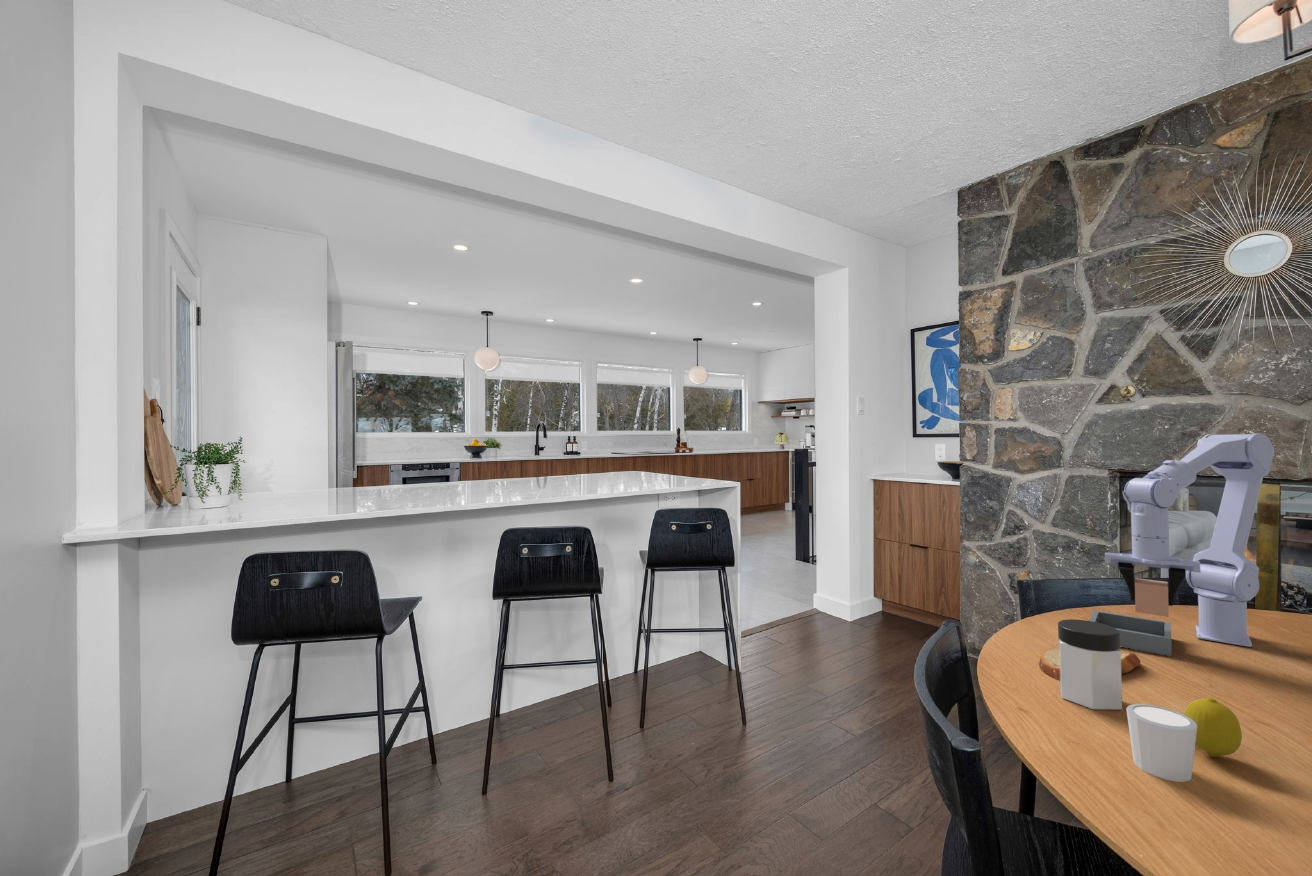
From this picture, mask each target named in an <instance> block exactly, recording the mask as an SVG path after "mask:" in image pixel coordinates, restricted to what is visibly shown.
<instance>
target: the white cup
mask: <svg viewBox="0 0 1312 876" xmlns="http://www.w3.org/2000/svg"><path fill="white" fill-rule="evenodd" d="M1125 710H1126V717H1127V723H1128V730H1129V738H1130V743H1131V744H1130V746H1131V752H1132V759H1133V763H1134V764H1135V766H1136V767H1137V768H1139V769H1140V770H1141V771H1143V772H1145V773H1147V774H1149V775H1151V776H1154V777H1157V778H1159V779H1162V780H1166V781H1172V782H1179V783H1185V782H1188V781H1189V782H1190V781H1191V780H1192V778H1193V769H1194V757H1195V751H1196V750H1195V748H1196V745H1195V742H1196V732H1197V724H1196V723H1195V722H1194V720H1192V719H1191V718H1189V717H1187V716H1186V715H1184V714H1185V713H1184V714H1183V713H1181V712H1178V711H1175V710H1173V709H1169V708H1167V707H1162V706H1158V705H1152V704H1145V703H1133V704H1130V705H1128V706H1127V707H1126V709H1125Z"/></svg>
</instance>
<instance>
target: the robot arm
mask: <svg viewBox="0 0 1312 876" xmlns="http://www.w3.org/2000/svg"><path fill="white" fill-rule="evenodd" d="M1274 454H1275V448H1274V446H1273V444H1272V442H1271V440H1270V438H1268V436H1267V435H1266V434H1264V433H1260V432H1259V433H1253V434H1252V433H1248V434H1247V433H1245V434H1242V433H1240V434H1235V433H1234V434H1215V433H1207V434H1206V435H1204V436H1203V437H1201V438H1199V439H1198V440H1197V443H1196V447H1194V449H1193V450H1191V451H1190V452H1189V453H1188V454H1187V455H1185V456H1184V457H1183V458H1181V459H1180V460H1179V459H1173V460H1171V459H1170V460H1169V459H1166V460H1164V461H1163V462H1162V465H1160V466H1159V467H1157V468H1155V469H1154V470H1152V471H1149V472H1148V473H1147V474H1146V475H1144V476H1143V477H1134V478H1132V479H1130V480H1128V481H1127V482H1126V484H1125V485H1124V488H1123V489H1124V490H1122V495H1123V496H1122V497H1123V500H1124V501H1125V502H1126V505H1127V510H1128V513H1130V514H1131V515H1130V516H1131V517H1130V520H1131V521H1130V522H1131V524H1130V525H1131V526H1130V527H1131V553H1122V552H1121V553H1118V552H1105V553H1104V563H1105V564H1106V563H1107V564H1117V569H1118V571H1119V573H1120V574H1121V575H1122V578H1123V579H1124V581H1125V584H1126V586H1127V588H1128V591H1129V595H1130V600H1131V601H1134V602H1135V566H1139V567H1148V568H1157V569H1158V568H1159V569H1166V570H1168V573H1167V574H1168V607H1169V606H1171V607H1173V606H1174V600H1175V596H1176V593H1177V591H1178V589H1179V586H1180V585H1181V583H1182V582H1183V581H1184V578H1185V579H1186V582H1187V584H1188V586H1189V587H1190V588H1192V589H1193V593H1195V594H1197V602H1198V604H1197V605H1198V606H1197V607H1198V611H1197V612H1198V625H1195V634H1196V638H1197V639H1200V640H1206V641H1213V642H1218V643H1224V644H1225V643H1226V644H1230V645H1234V646H1235V645H1237V646H1242V647H1247V648H1252V647H1253V644H1252V641H1251V638H1250V636H1249V633H1248V608H1247V607H1248V606H1247V602H1248V601H1249V602H1250V601H1251V600H1252V599H1253V598H1254V597H1256V596H1257V594H1258V592H1259V590H1260V580H1259V572H1260V568H1259V566H1257V564H1256V563H1254V562H1253V561H1252V560H1250V558H1248V557H1247V556H1246V555H1245V554H1246V549H1247V545H1248V541H1249V537H1250V534H1251V533H1250V532H1251V529H1252V524H1253V520H1254V516H1255V511H1256V508H1257V504H1258V500H1259V495H1260V492H1261V487H1262V484H1263V479H1264V477H1267V476H1268V475H1269V474H1270V469H1271V466H1272V462H1273V459H1274ZM1209 467H1210V468H1211V469H1212V470H1213V471H1214V473H1216V474H1218V475H1220V476H1223V477H1224V479H1225V485H1224V489H1223V494H1222V497H1221V502H1220V504H1219V505H1220V506H1219V509H1218V513H1217V518H1216V521H1215V525H1214V529H1213V533H1212V537H1211V541H1210V546H1209V547H1208V548H1207V549H1203V550H1201V551H1199V552H1197V553H1195V554H1194V555H1193V558H1192V560H1191V559H1189V560H1188V559H1182V558H1181V559H1180V558H1175V557H1170V538H1169V537H1170V534H1169V533H1170V532H1169V531H1170V530H1169V528H1170V527H1169V525H1170V524H1169V507H1171V506H1173V505H1174V504H1175V502H1176V499H1177V496H1178V495H1179V493H1180V492H1181V491H1182V490H1184V489H1186V488H1187V487H1188V486H1190V485H1191V484H1193V483H1194V482H1195V481H1196V480H1197V473H1199V472H1201V471H1203V470H1204V469H1207V468H1209Z"/></svg>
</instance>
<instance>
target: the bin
mask: <svg viewBox="0 0 1312 876" xmlns="http://www.w3.org/2000/svg"><path fill="white" fill-rule="evenodd" d="M1088 621H1092V622H1097V623H1102V624H1105V625H1108V626H1111V627H1113V628H1115V629H1117V630H1118V631H1119V633H1120V646H1121V647H1120V648H1122V647H1124V648H1123V649H1128V648H1130V649H1129V650H1133V649H1136V650H1135V651H1138V650H1140V651H1139V652H1144V651H1147V652H1146V653H1149V654H1154V653H1156V655H1160V656H1165V655H1167V656H1166V657H1170V656H1172V653H1173V652H1171V651H1172V622H1171V621H1166V620H1165V621H1164V620H1160V619H1159V620H1158V619H1151V618H1145V617H1141V616H1133V615H1127V614H1119V613H1114V612H1106V611H1102V610H1093V611H1092V613H1091V615H1090V618H1089V620H1088Z"/></svg>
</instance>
